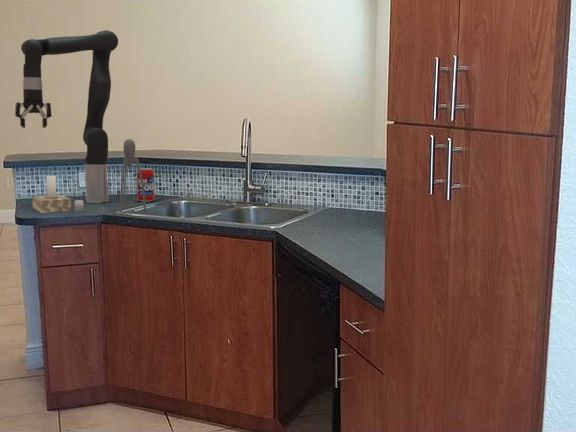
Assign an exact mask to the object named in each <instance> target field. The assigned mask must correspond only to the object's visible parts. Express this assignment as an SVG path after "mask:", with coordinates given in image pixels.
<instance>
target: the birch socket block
mask: <svg viewBox="0 0 576 432" xmlns="http://www.w3.org/2000/svg"><path fill="white" fill-rule="evenodd" d="M31 199H32V210H34V211H36V212H38V213H40V214H51V213H62V212H63V213H65V212H72V198H69V197H67V196H64V195H56V199H47V195H45V196H32V198H31Z"/></svg>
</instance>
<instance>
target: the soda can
mask: <svg viewBox="0 0 576 432" xmlns="http://www.w3.org/2000/svg"><path fill="white" fill-rule="evenodd" d="M140 169H141V173H142V179H143V185H144V192H145V203H151V201H152V202H153V201H155V171H154V169H153V168H149V167H140ZM136 200H137V201H138V202H140V201H141V202H140V203H143V193H142V186H141V181H140V176H139V171H138V170H137V171H136Z"/></svg>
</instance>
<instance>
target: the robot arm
mask: <svg viewBox="0 0 576 432" xmlns="http://www.w3.org/2000/svg"><path fill="white" fill-rule="evenodd" d="M118 45H119V39H118V36H117V34H116V33H115V32H113V31H111V30H107V29H106V30H100V31H98V32H96V33H93V34H87V35H78V36H77V35H76V36H73V35H72V36H58V37H57V36H55V37H48V38H45V39H44V38H42V39H34V38H33V39H32V38H31V39H26V40H24V42H22V44H21V46H20V48H21V52H22V53H23V55H24V64H23V65H22V66H23V68H22V70H23V75H22V76H23V77H22V78H23V80H22V87H23V88H22V90H23V95H22V96H23V97H22V98H23V102H18V101H17V102H15V109H14V110H15V112H14V116H15V117H16V118H19V119H20V120H19V123H20V127H21V128H23V129H25V128H26V120H25V118H26V116H27V115H28V114H39V116H41V118H42V128H43V129H44V128H46V127H47V126H48V119H49V118H52V106H51V105H52V104H51V103H50V102H46V103H45V102H43V98H44V97H43V87H44V86H43V81H42V61H43V60H42V59H43V56H49V55H50V56H51V55H52V56H55V55H65V54H72V53H79V52H86V51H92V64H91V71H90V77H89V85H88V94H87V95H88V98H87V108H86V109H87V110H86V111H87V112H86V114H87V115H86V120H85V125H84V128H83V129H84V130H83V135H82V139H83V142H84V144H85V146H86V156H85V158H84V169H85V171H84V175H85V178H84V179H85V203H86V204H104V203H103V202H106V203H109V201H110V198H109V195H110V191H109V187H110V186H109V185H110V184H109V180H108V174H107V171H108V170H107V169H108V168H107V164H108V163H107V160H108V157H109V137H108V134H107V132H106V131H105V130H104V129H103V128H104V126H103V125H104V118H105V117H104V116H105V113H106V111H107V108H108V105H109V104H110V103H109V102H110V98H111V90H112V89H111V87H112V79H111V72H110V57H111V53H112V52H113V51H115V49H116V48H117V47H118ZM22 107H23V108H24V109H23V111H22V112H21V108H22ZM43 108H45V109H46V111H44V110H43ZM45 112H46V113H45Z"/></svg>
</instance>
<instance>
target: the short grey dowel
mask: <svg viewBox="0 0 576 432" xmlns="http://www.w3.org/2000/svg"><path fill="white" fill-rule="evenodd" d="M84 206H85V205H84V200H81V199H80V200H79V199H75V200H74V213H84V211H85V209H84V208H85V207H84Z"/></svg>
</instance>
